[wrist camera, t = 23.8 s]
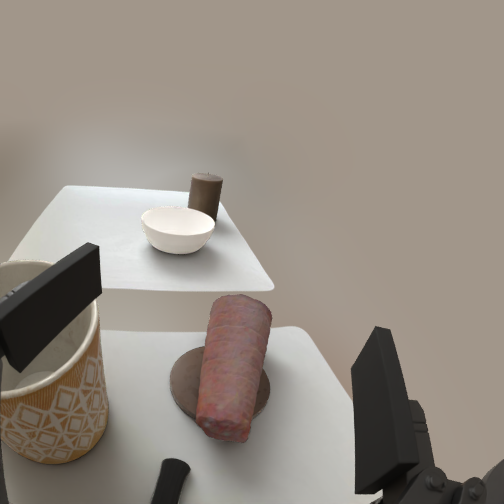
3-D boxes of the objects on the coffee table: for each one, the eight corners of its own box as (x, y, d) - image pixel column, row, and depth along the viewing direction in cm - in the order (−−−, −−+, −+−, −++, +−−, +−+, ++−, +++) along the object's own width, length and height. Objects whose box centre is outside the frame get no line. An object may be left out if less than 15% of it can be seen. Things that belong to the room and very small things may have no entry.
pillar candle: (218, 225, 91) (226, 178, 84) (186, 222, 88) (193, 174, 81) (214, 214, 99) (221, 171, 92) (185, 211, 96) (191, 167, 89)
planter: (7, 349, 31) (-24, 255, 24) (118, 360, 37) (109, 263, 30) (-20, 456, 15) (-95, 367, 8) (123, 484, 21) (87, 415, 14)
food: (207, 329, 47) (215, 284, 43) (264, 338, 48) (277, 295, 44) (188, 443, 28) (192, 405, 24) (269, 452, 29) (292, 416, 25)
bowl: (225, 249, 77) (229, 224, 73) (174, 272, 62) (177, 242, 59) (176, 225, 84) (179, 202, 81) (125, 241, 69) (126, 214, 66)
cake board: (267, 358, 45) (269, 353, 45) (268, 432, 33) (271, 428, 32) (180, 343, 44) (180, 337, 44) (160, 415, 32) (160, 410, 31)
